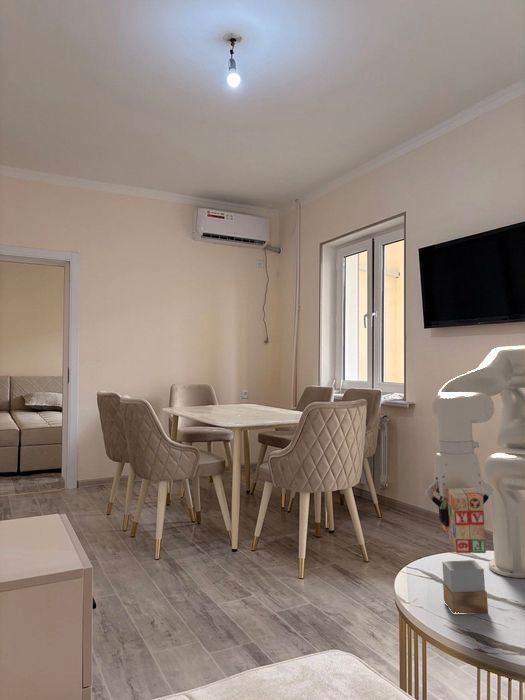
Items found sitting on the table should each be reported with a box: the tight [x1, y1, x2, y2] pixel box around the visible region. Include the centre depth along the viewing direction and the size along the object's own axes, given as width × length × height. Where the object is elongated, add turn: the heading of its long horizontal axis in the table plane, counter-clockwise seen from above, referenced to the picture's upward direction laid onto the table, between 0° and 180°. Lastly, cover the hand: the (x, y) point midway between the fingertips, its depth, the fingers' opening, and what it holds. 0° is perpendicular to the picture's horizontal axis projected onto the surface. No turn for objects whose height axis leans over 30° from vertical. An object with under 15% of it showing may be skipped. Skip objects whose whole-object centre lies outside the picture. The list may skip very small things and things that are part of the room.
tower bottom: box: [442, 582, 489, 615], centre depth 123 cm, size 8×6×5 cm
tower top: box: [441, 559, 486, 593], centre depth 124 cm, size 8×6×5 cm
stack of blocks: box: [437, 487, 487, 554], centre depth 124 cm, size 21×6×12 cm, turn 170°
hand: (460, 523), depth 124 cm, fingers closed on stack of blocks, 6 cm apart
